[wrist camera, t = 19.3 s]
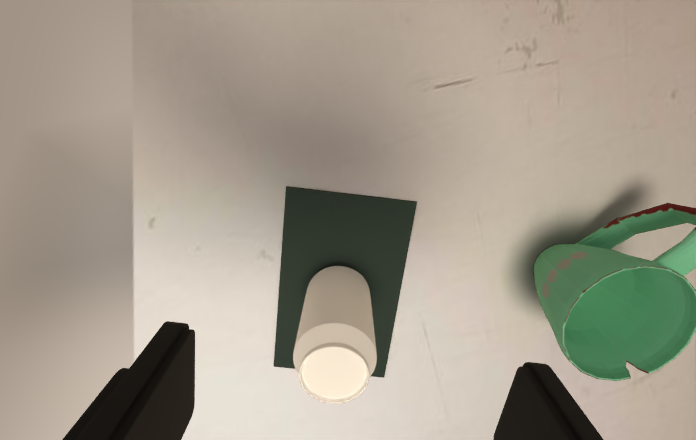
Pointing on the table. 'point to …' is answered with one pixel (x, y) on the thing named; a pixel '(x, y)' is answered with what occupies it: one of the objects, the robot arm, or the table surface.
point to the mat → (342, 257)
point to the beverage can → (336, 336)
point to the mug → (620, 296)
